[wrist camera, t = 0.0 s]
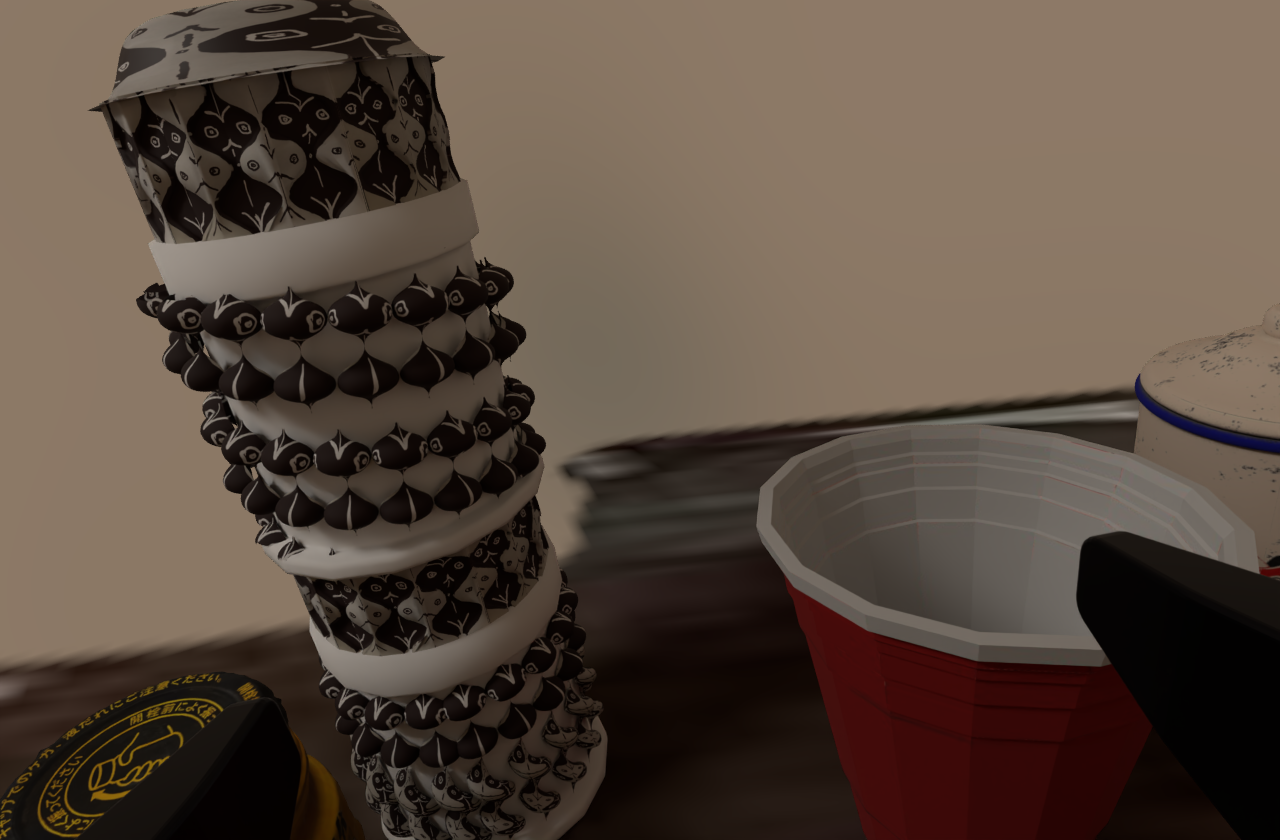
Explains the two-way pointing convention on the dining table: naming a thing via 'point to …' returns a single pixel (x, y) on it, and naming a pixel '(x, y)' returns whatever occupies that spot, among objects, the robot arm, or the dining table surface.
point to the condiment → (151, 762)
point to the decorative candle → (365, 399)
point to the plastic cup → (974, 619)
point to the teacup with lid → (1221, 423)
